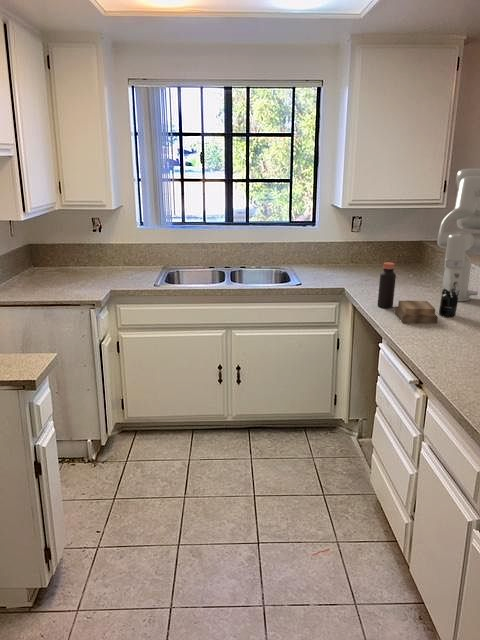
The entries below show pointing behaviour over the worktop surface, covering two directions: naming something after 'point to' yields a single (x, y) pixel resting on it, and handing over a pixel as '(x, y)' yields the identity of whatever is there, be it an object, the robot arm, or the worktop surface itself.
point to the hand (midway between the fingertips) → (448, 303)
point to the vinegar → (387, 286)
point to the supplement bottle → (446, 306)
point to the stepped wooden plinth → (416, 312)
